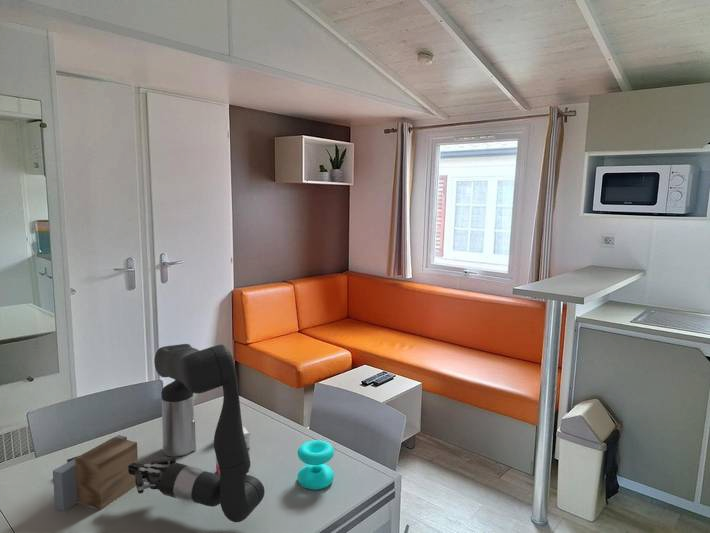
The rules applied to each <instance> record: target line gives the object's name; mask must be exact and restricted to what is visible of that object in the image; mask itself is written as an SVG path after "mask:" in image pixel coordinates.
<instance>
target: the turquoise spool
mask: <svg viewBox="0 0 710 533" xmlns="http://www.w3.org/2000/svg"><path fill="white" fill-rule="evenodd" d="M334 455H335V450H334V447H333V445H332V444H330V443H329V442H328V441H325V440H320V439H314V440H308V441H305V442H304V443H303V442H302V444H301V445H300V446H299V448H298V449H297V457H298V459H299V460H300V461H301V462H302V463H304V464H306V465H304V466H303V467H301V468H300V470H299V471H298V473H297V481H298V483H299V484H300V485H301V486H302V487H304V488H306V489H309V490H321V489H325V488H326V487H328V486H330V484H332V482H333V481H334V477H335V474H334V471H333V469H332V468H331V466H329V465H327V463H329V462H330V461H331V460H332V458H334Z"/></svg>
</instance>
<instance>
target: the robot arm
mask: <svg viewBox="0 0 710 533" xmlns="http://www.w3.org/2000/svg"><path fill="white" fill-rule="evenodd" d="M153 362H154V367H155V371H156V373H157V375H158V376H160V377H161V378H170V379H173V380H174V381H171V382H170V383H168V384H166V385H165V386H164V387H163V388H161V395H160V396H161V422H162V424H161V426H162V450H163V451H162V452H163V454H164V455H165V456H168V457H172V458H167V459H159V460H152V461H151V462H150V463H145V464H144V463H143V464H142V463H140V462H138V463H132V464H130V465H129V466H128V472H129V474H132V475H135V479H136V480H135V483H136V486H135V487H136V490H137V494H143V493H144V492H145V491H144V490H146V489H151V490H158V491H160V493H162V495H164V496H166V497H171V498H173V499H176V500H177V499H178V500H181V501H184V502H188V503H195V504H199V505H203V506H206V507H212V508H213V507H217V506H219V505H220V507H221V511H222V512H223V514H224V516H225V518H226V519H228V520H229V521H230V522H233V523H240V522H243V521H244V520H246V519H247V518H248V517H249V516H250V514H252V512H253V511H254V510H255V509H256V508H257V507H258V506H259V504H260V503H261V502H262V501H263V499H264V498H265V487H264V485H263V483H262V481H261V480H259V478H257V477H256V476H253V475H249V474H248V472H249V471H248V470H249V468H250V469H251V459H250V458H251V456H250V457H249V453H248V449H247V445H246V441H245V437H244V433H243V427H242V426H243V421H242V413H241V412H242V411H241V410H242V409H241V403H240V394H239V386H238V377H237V371H236V366H235V361H234V358H233V356H232V353H231V351H230V349H229V348H228V347H227V346H226V345H224V344H217V345H214V346H210V347H207V348H204V349H200V350H199V349H198V348H194V347H192V346H191V344H190V343H183V344H174V345H166V346H162V347H159V348H158V349H157V350H156V352H155V355H154V361H153ZM221 387H222V391H223V398H222V399H223V400H222V407H221V411H220V415H219V418H218V421H217V425H216V428H215V431H214V437H213V447H214V453H215V459H216V458H217V462H218V465H219V469H220V475H218V474H217V473H215V472H210V471H207V470H203V469H201V468H199V467H196V466H191V465H187V464H184V463H179V462H176V460H177V459H176V458H173V457H182V456H186V455H188V454H190V453H192V452H195V451H197V443H196V442H197V441H196V421H195V404H194V403H195V402H194V401H195V400H194V397H195V394H196V395H197V394H203V393H206V392H209V391H211V390H215V389H218V388H221Z"/></svg>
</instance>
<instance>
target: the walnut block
mask: <svg viewBox="0 0 710 533" xmlns="http://www.w3.org/2000/svg"><path fill="white" fill-rule="evenodd" d="M138 454H139V453H138V442H137V441H133V440H129V439H127V440H125V439H121V438H116V436H114V437H112V438H110V439H108V440H107V441H105V442H102V443H101V444H99V445H97V446H95V447H93V448H91V449H90V450H88V451H86V452H84V453H82V454H80V455H77V456H78V457H77V456H75V457H76V458H75V466H76V483H77V501H78V503H77V504H81V505H84V506H87V507H90V506H91V508H93V507H94V508H93V509H97V508H98V509H97V510H100V511H102V510H103V509H105V508H106V507H108V506H109V505H110V503H111V504H112V503H114V502H115V501H116V500H118V499H119V498H121V497H122V496H124V495H125V494H127V493H128V492H130V491H131V490H133V489H134V488H135V487H136V483H135V480H136V479H135V475H132V474H129V472H128V466H129V465H130V464H132V463H139V462H138V461H139V459H138V457H139V456H138ZM117 498H118V499H117ZM114 500H115V501H114ZM113 501H114V502H113ZM107 505H108V506H107Z"/></svg>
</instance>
